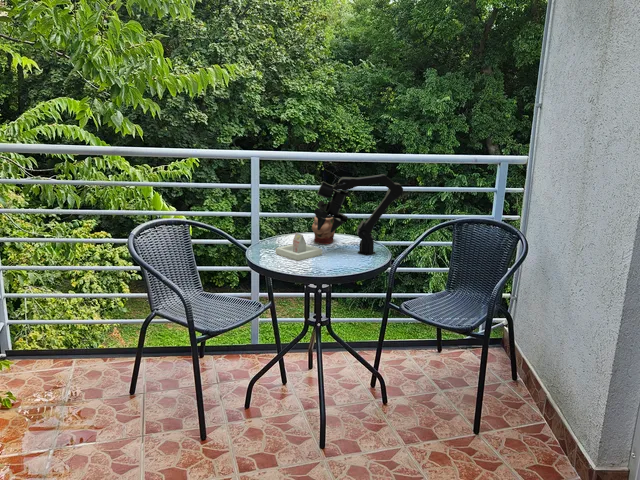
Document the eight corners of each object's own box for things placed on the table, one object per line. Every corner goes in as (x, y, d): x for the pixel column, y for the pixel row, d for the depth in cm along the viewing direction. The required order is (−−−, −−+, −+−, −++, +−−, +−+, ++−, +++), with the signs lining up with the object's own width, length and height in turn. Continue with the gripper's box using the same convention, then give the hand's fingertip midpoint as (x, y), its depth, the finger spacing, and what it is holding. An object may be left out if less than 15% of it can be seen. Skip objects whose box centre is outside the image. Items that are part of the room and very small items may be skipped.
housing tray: (322, 255, 272) (322, 249, 272) (297, 261, 261) (297, 255, 261) (300, 248, 283) (300, 242, 283) (275, 254, 273) (275, 248, 272)
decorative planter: (318, 236, 308) (318, 211, 305) (339, 238, 305) (340, 213, 302) (307, 245, 290) (307, 218, 286) (330, 247, 287) (330, 220, 283)
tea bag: (299, 251, 276) (299, 231, 274) (305, 254, 270) (306, 234, 268) (292, 252, 274) (292, 232, 272) (299, 255, 269) (299, 235, 266)
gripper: (339, 198, 282) (327, 226, 286) (313, 192, 269) (301, 222, 273) (353, 207, 275) (341, 235, 278) (327, 201, 262) (315, 231, 265)
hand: (324, 231), depth 274 cm, fingers open, 9 cm apart
